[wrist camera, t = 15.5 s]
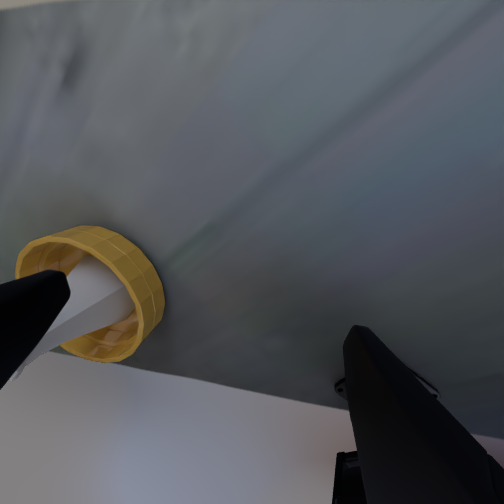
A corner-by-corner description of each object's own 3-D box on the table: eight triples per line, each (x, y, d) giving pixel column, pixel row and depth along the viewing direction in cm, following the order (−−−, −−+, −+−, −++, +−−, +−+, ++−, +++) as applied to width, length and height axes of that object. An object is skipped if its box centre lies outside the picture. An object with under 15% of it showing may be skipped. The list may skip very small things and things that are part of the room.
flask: (133, 327, 27) (42, 417, 18) (74, 298, 27) (-44, 372, 18) (146, 274, 24) (45, 350, 15) (80, 242, 24) (-59, 296, 15)
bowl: (189, 280, 24) (167, 304, 20) (137, 354, 29) (112, 383, 25) (75, 196, 23) (31, 204, 19) (43, 287, 28) (4, 307, 25)
